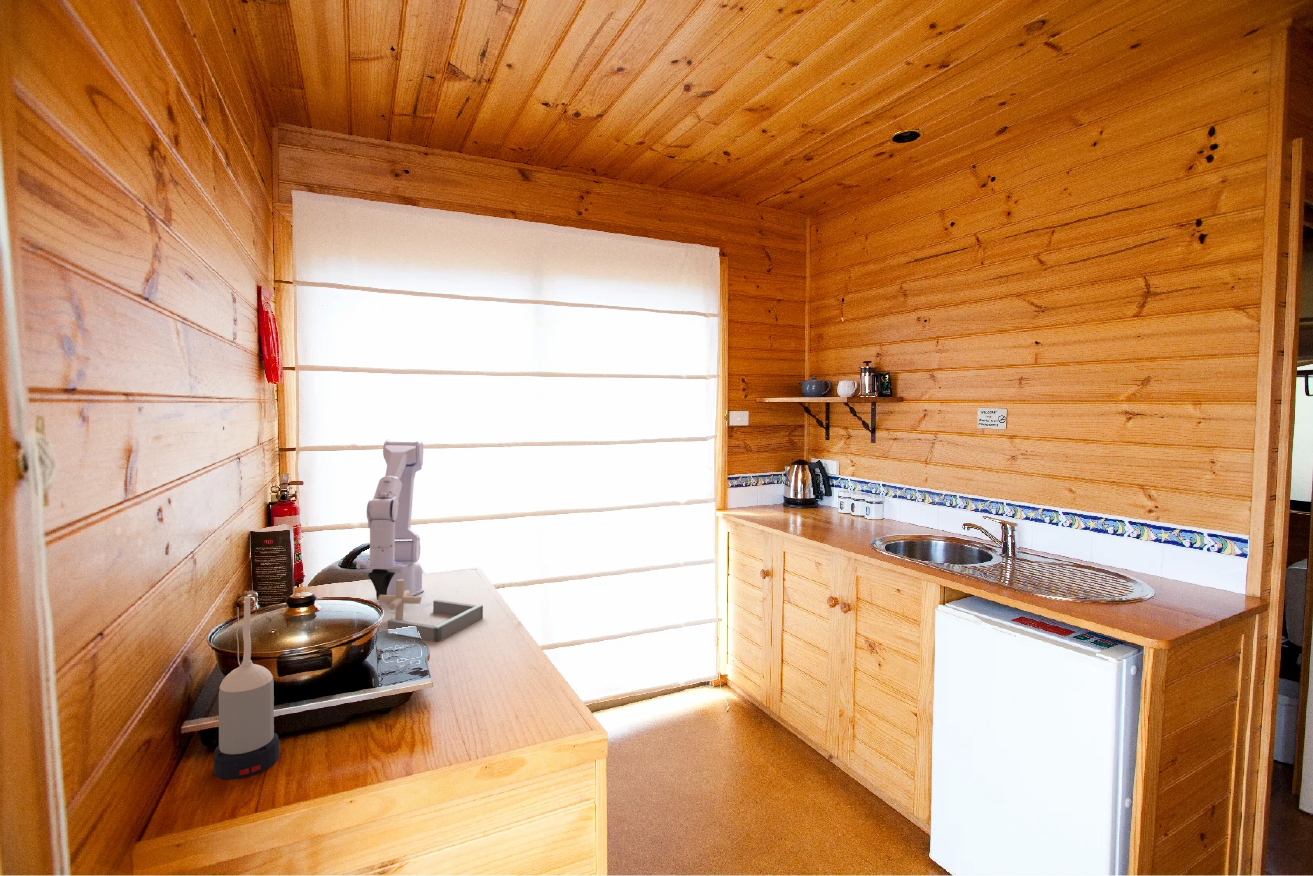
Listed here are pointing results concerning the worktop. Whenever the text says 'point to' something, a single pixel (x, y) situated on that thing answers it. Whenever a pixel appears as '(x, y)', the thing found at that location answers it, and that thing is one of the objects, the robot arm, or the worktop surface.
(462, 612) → the frame
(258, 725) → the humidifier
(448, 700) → the worktop surface
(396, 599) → the pipe connector
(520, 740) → the worktop surface
